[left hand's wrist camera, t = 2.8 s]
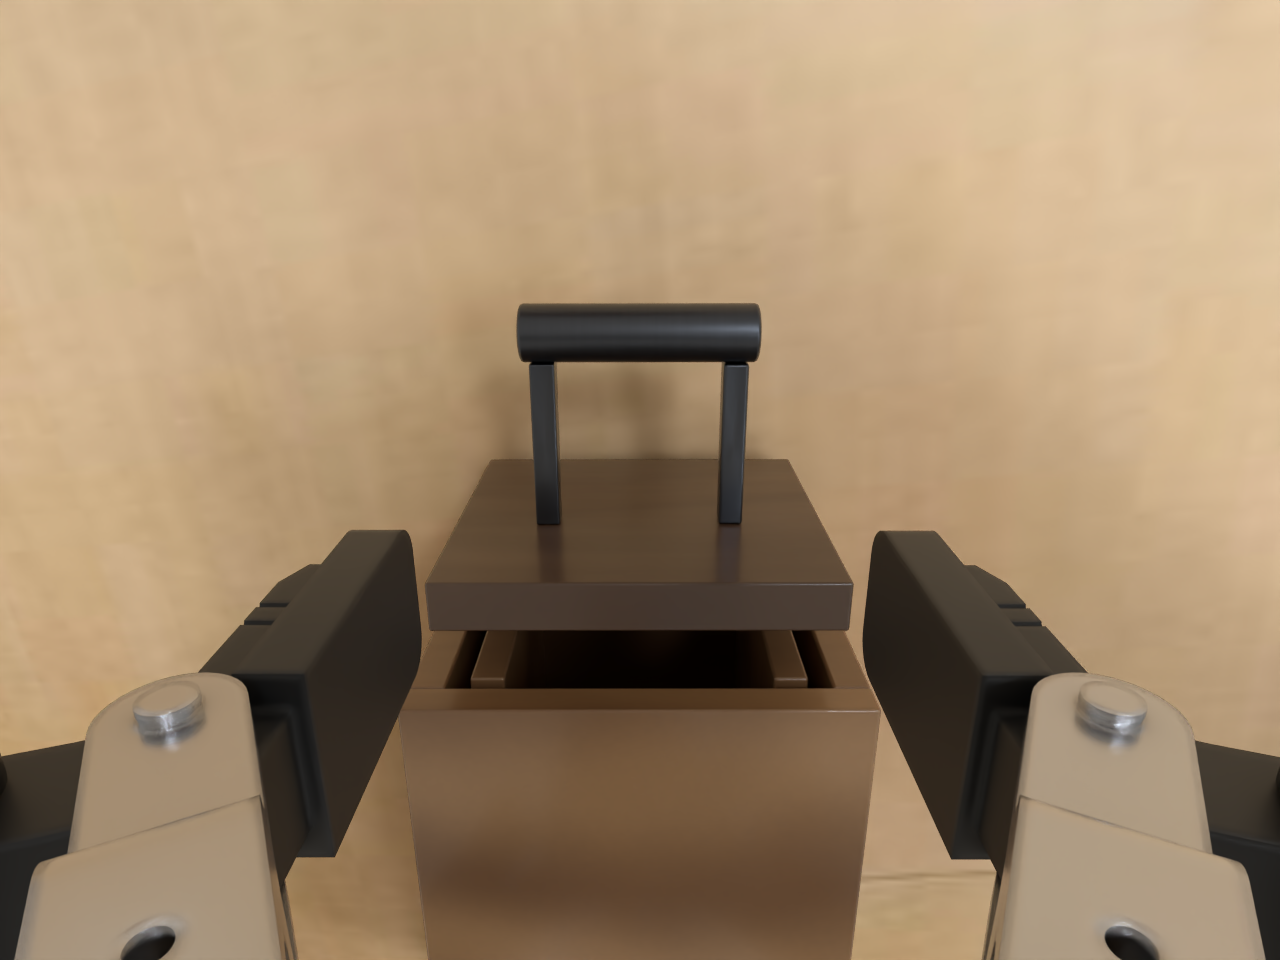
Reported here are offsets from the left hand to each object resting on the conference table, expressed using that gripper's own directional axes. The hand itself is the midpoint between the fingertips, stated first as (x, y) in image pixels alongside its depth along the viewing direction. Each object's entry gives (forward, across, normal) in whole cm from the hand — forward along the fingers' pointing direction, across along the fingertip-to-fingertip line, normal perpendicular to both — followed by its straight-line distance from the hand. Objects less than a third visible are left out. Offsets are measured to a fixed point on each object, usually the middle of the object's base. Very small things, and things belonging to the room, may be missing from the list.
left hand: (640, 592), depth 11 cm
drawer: (+14, 0, +10) cm, 17 cm away
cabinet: (+15, 0, +16) cm, 22 cm away
